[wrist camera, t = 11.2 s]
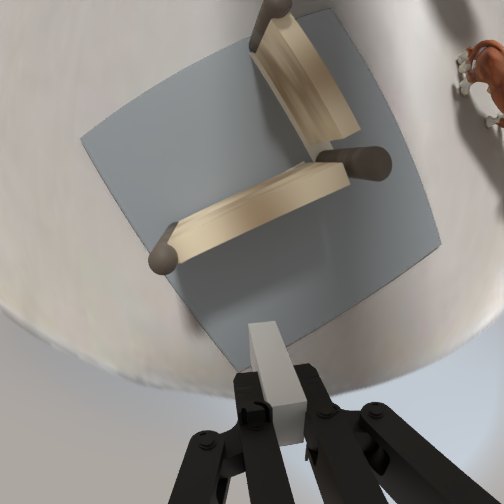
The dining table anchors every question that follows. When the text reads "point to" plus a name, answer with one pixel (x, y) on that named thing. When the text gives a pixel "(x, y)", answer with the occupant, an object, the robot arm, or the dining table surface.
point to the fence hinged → (245, 212)
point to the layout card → (259, 170)
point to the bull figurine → (485, 73)
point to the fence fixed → (312, 91)
